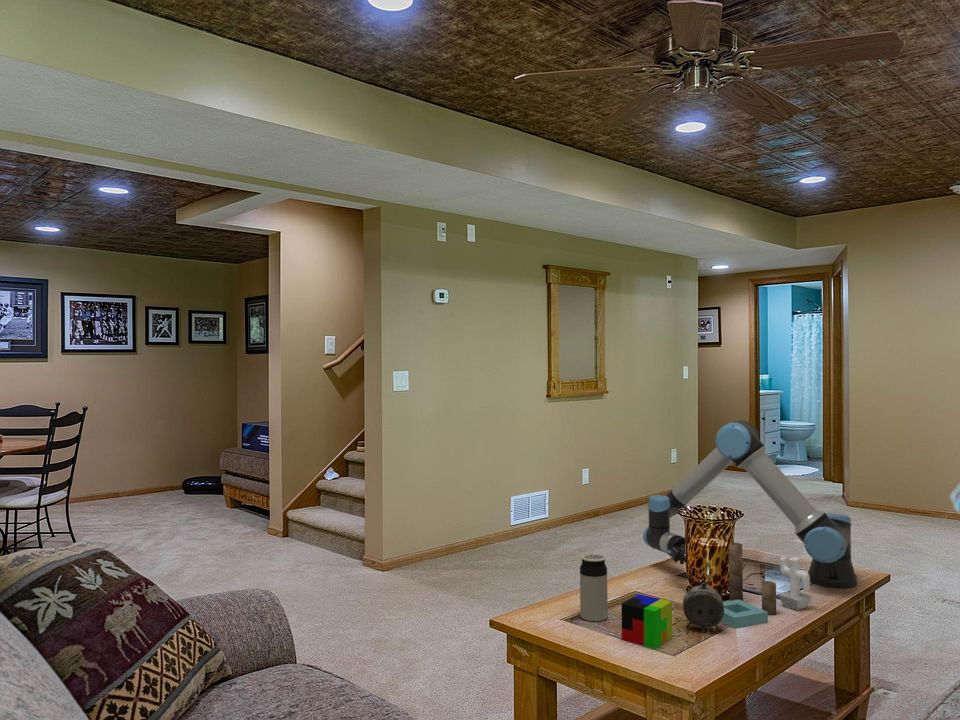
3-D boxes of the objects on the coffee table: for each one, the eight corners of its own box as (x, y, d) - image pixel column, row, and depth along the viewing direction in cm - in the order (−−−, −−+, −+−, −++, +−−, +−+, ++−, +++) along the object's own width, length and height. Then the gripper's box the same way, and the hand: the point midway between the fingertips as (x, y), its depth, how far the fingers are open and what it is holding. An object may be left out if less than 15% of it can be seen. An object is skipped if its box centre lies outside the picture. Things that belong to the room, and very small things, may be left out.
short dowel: (769, 610, 221) (769, 580, 221) (779, 614, 217) (779, 584, 217) (759, 611, 220) (758, 581, 220) (768, 616, 216) (768, 585, 216)
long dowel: (736, 598, 231) (736, 542, 231) (745, 602, 228) (745, 545, 228) (726, 600, 230) (726, 543, 230) (735, 604, 226) (734, 546, 226)
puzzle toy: (638, 629, 206) (638, 594, 206) (672, 637, 200) (671, 601, 200) (621, 640, 199) (621, 603, 199) (655, 649, 192) (655, 611, 192)
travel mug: (610, 621, 212) (609, 560, 212) (583, 622, 212) (582, 560, 212) (604, 612, 220) (603, 552, 220) (578, 613, 220) (577, 553, 220)
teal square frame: (739, 609, 222) (739, 599, 222) (767, 622, 211) (767, 612, 211) (706, 614, 217) (706, 604, 217) (734, 628, 206) (734, 617, 206)
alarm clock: (723, 628, 206) (723, 571, 206) (724, 635, 201) (724, 576, 201) (683, 625, 209) (682, 568, 209) (683, 632, 204) (682, 574, 204)
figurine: (801, 613, 217) (801, 563, 217) (774, 604, 225) (773, 556, 225) (816, 609, 221) (815, 559, 221) (788, 600, 229) (788, 552, 229)
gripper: (704, 552, 262) (745, 568, 242) (645, 559, 253) (683, 576, 233) (704, 531, 262) (745, 545, 242) (645, 538, 253) (683, 553, 233)
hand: (715, 561), depth 238 cm, fingers open, 13 cm apart
